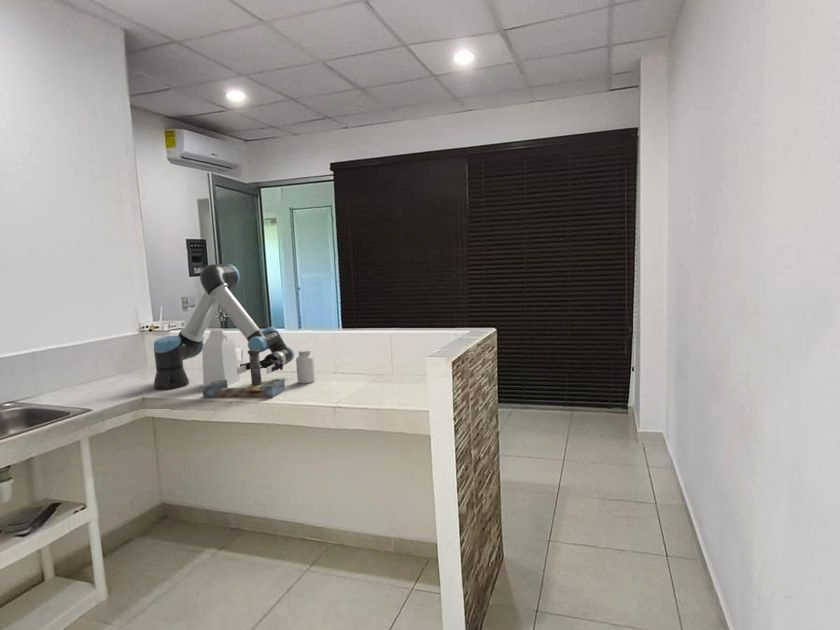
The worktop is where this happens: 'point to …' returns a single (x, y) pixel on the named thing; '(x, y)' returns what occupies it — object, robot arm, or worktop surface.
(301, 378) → the pill bottle
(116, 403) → the worktop surface
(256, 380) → the dark grey post
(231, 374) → the milk
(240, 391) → the rail track
